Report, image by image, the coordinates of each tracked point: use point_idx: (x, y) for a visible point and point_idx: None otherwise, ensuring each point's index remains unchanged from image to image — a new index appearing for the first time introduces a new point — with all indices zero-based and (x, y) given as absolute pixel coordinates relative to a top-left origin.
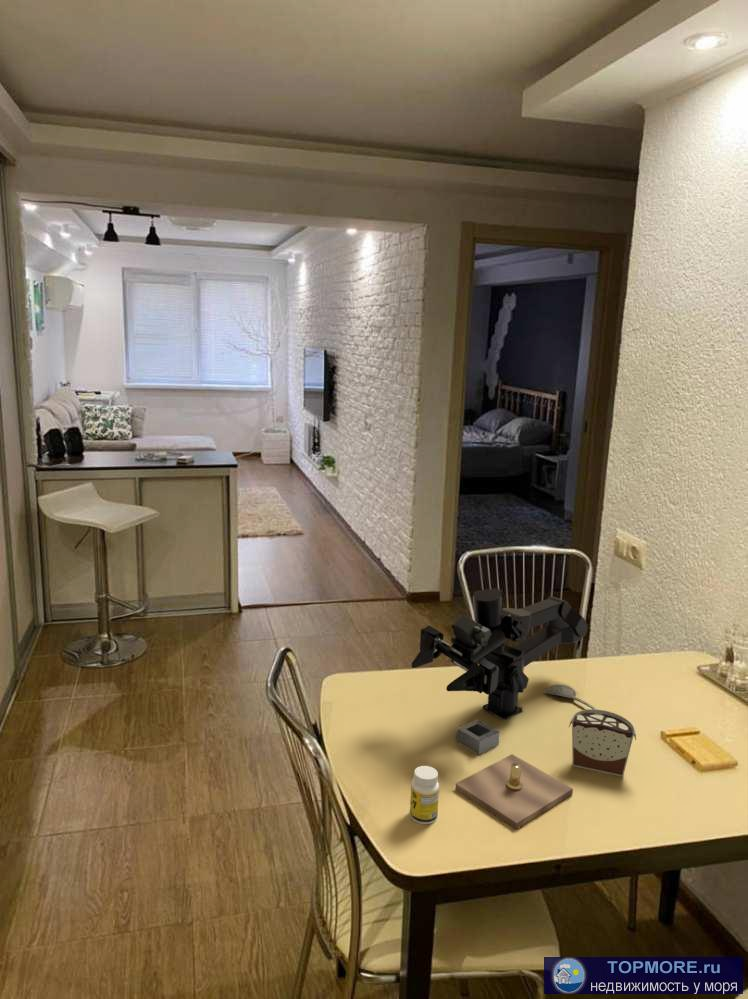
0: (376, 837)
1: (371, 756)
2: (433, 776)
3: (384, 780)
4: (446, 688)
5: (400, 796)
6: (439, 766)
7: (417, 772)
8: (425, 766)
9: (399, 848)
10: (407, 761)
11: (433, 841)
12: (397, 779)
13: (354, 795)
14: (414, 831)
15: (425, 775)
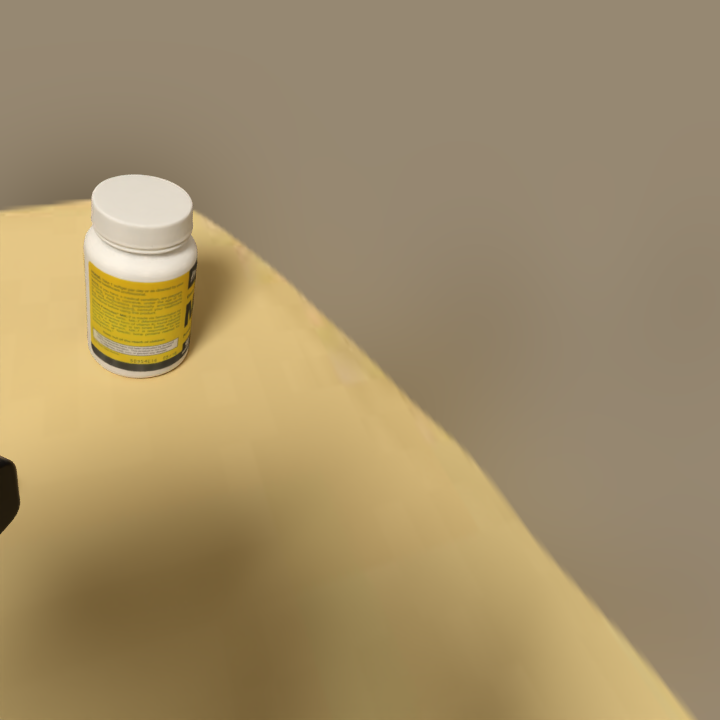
0: (262, 268)
1: (453, 640)
2: (110, 184)
3: (328, 488)
4: (17, 484)
5: (240, 417)
6: (85, 677)
7: (179, 197)
8: (150, 221)
9: None
10: (273, 661)
11: None
12: (280, 507)
13: (391, 394)
14: None
15: (144, 187)
